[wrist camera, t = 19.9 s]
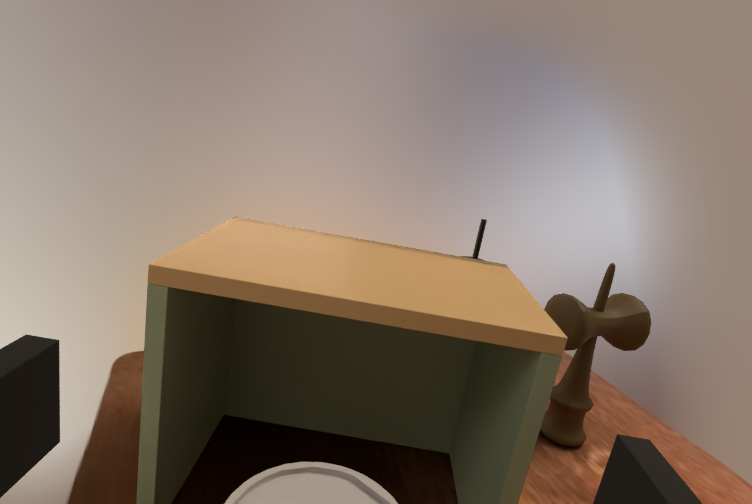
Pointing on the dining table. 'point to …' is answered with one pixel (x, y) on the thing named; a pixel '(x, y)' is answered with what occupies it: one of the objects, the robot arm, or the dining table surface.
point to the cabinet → (343, 352)
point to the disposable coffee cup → (310, 486)
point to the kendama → (589, 352)
